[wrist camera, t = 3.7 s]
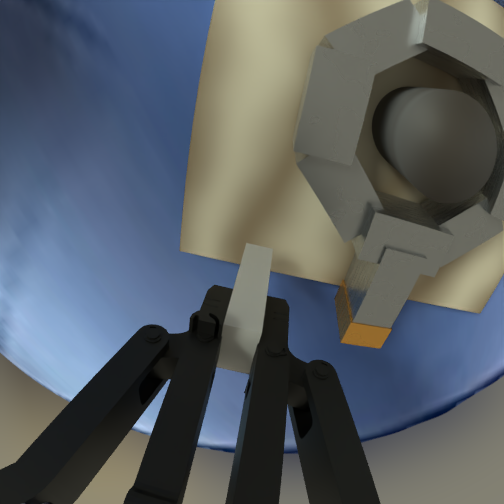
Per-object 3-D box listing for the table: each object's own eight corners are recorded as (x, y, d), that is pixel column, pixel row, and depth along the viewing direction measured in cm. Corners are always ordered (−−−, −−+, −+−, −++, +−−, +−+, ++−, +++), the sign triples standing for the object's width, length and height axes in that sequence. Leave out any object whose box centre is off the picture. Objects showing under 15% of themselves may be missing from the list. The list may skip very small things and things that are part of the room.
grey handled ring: (324, -13, 11) (334, -41, 8) (520, 77, 11) (562, 84, 8) (258, 282, 20) (250, 325, 17) (428, 316, 20) (445, 356, 17)
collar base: (186, 240, 22) (151, 296, 16) (241, -72, 11) (219, -124, 5) (473, 302, 22) (503, 356, 16) (556, 62, 10) (613, 71, 5)
